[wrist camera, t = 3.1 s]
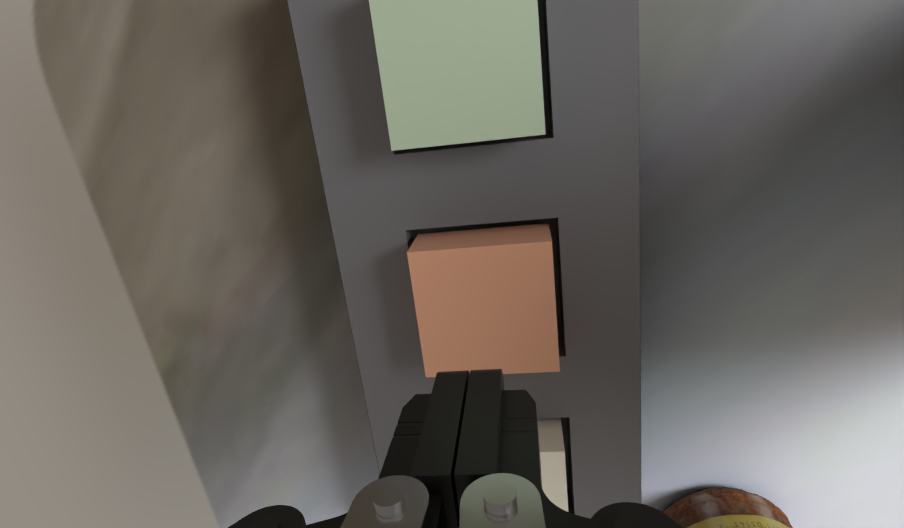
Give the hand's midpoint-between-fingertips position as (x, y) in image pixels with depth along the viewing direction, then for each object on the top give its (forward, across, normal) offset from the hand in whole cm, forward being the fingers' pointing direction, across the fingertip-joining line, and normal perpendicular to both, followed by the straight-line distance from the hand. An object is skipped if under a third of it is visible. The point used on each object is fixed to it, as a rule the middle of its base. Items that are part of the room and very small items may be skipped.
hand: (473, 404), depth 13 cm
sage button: (+7, 0, -8) cm, 10 cm away
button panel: (+9, 0, 0) cm, 9 cm away
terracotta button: (+7, 0, 0) cm, 7 cm away
